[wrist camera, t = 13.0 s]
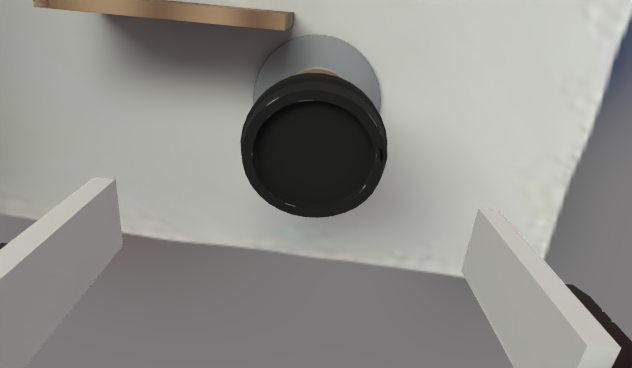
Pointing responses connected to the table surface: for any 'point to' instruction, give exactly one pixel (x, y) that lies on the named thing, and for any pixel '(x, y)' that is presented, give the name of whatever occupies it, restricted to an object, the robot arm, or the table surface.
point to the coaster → (318, 64)
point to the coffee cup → (314, 144)
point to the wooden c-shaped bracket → (179, 12)
